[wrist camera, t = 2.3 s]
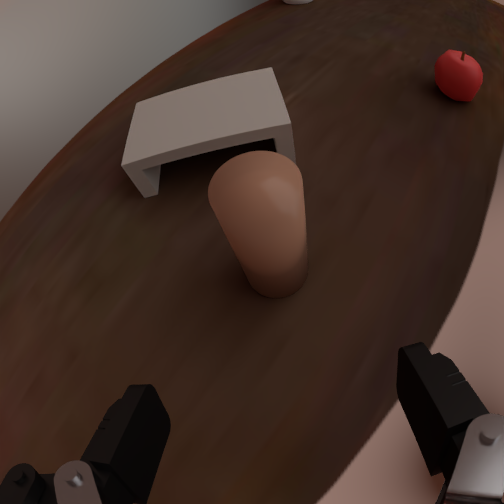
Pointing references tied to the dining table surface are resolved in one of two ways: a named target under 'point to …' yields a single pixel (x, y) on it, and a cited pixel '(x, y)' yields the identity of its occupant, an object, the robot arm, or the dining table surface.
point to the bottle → (297, 1)
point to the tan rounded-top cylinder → (263, 219)
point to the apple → (458, 75)
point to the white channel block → (205, 123)
